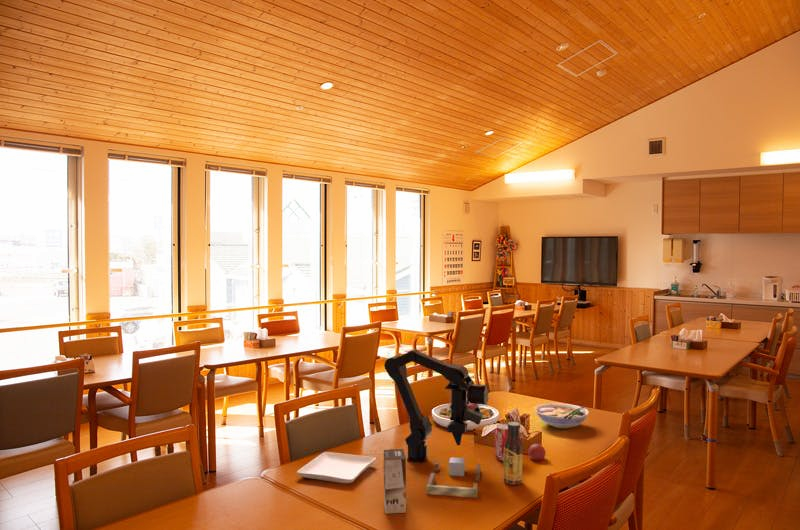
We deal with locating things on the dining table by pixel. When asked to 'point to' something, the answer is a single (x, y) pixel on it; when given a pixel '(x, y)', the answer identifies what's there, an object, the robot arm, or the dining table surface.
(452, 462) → the white cube
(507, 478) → the sauce bottle
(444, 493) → the wooden pieces
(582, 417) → the ramen bowl
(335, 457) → the salad plate
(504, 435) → the soda can
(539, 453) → the fruit
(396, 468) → the coffee box
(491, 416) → the bowl
